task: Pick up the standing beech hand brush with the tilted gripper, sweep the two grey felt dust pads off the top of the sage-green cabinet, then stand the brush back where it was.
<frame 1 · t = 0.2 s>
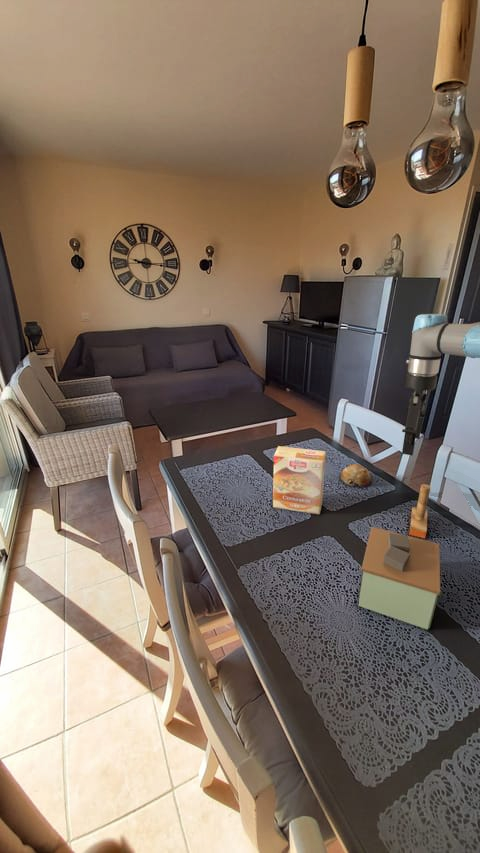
hand: (411, 445, 105), 22 cm above the table, tool pointing down, fingers open, 13 cm apart
dust pad 1: (397, 546, 82), point 12 cm above the table, touching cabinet
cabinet: (394, 595, 84), on the table
bread roll: (354, 481, 130), on the table
brush: (417, 527, 105), on the table
dust pad 2: (396, 561, 78), point 12 cm above the table, touching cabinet
coffeecake box: (297, 506, 117), on the table
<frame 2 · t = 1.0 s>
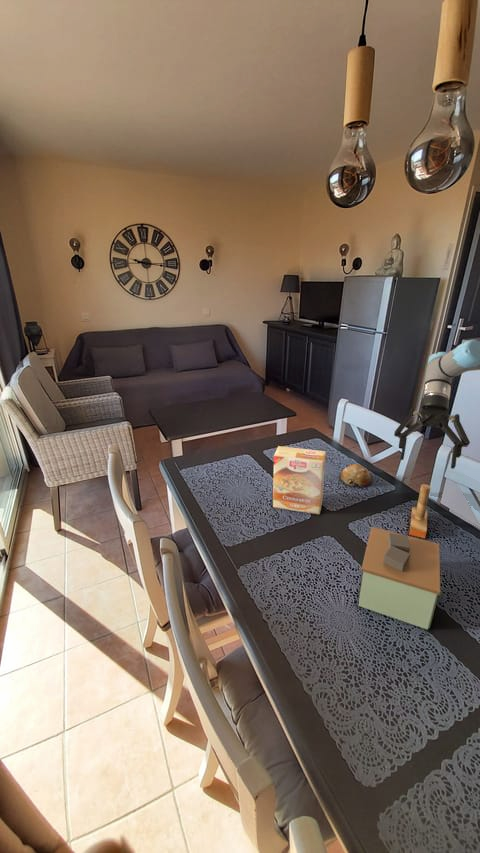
hand: (427, 462, 107), 16 cm above the table, tool tilted 45°, fingers open, 13 cm apart
nothing on the table moved.
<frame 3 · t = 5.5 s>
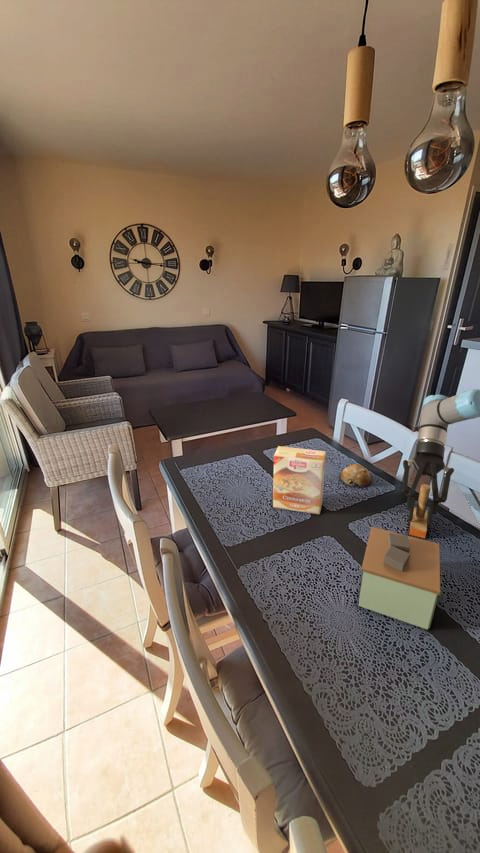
hand: (419, 522, 100), 5 cm above the table, tool tilted 45°, fingers closed on brush, 4 cm apart
brush: (417, 527, 105), on the table, touching gripper
everything else where it was.
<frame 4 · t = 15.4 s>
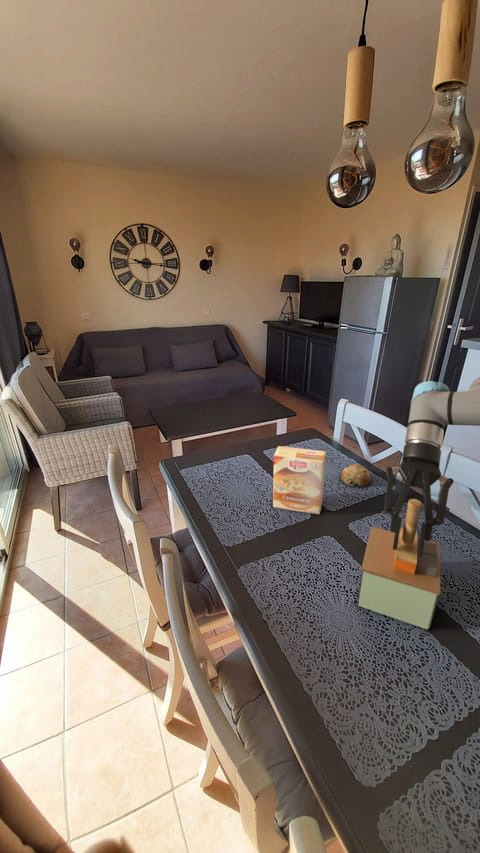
hand: (407, 552, 74), 16 cm above the table, tool tilted 45°, fingers closed on brush, 4 cm apart
dust pad 1: (424, 554, 79), point 12 cm above the table, touching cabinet
brush: (404, 555, 79), point 12 cm above the table, touching dust pad 2, gripper
dust pad 2: (424, 567, 76), point 12 cm above the table, touching brush
everything else where it was.
when the fingers open (4 cm above the table, at t = 26.4 s): brush stays where it is, on the table.
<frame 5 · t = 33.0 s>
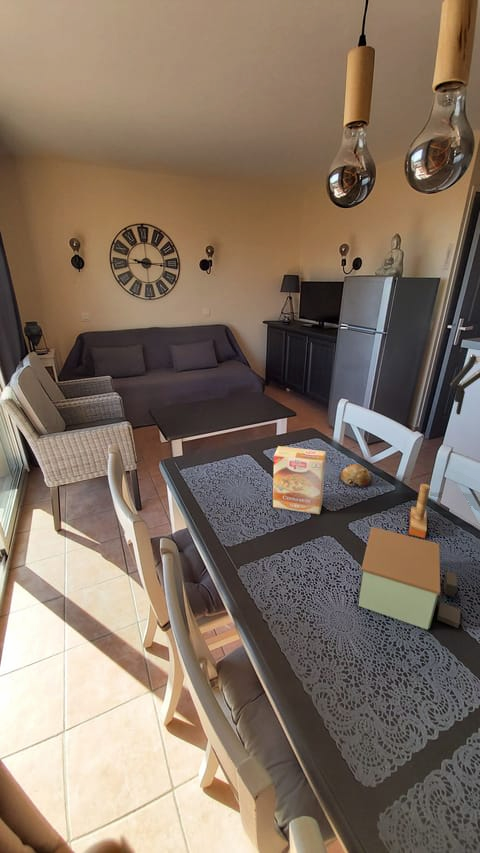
dust pad 1: (445, 583, 84), point 2 cm above the table, tilted 90°
brush: (416, 527, 105), on the table
dust pad 2: (449, 612, 77), point 2 cm above the table, tilted 180°
everything else where it was.
at the end: dust pad 1 point 2.0 cm above the table; dust pad 2 point 2.0 cm above the table; the gripper is holding nothing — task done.
